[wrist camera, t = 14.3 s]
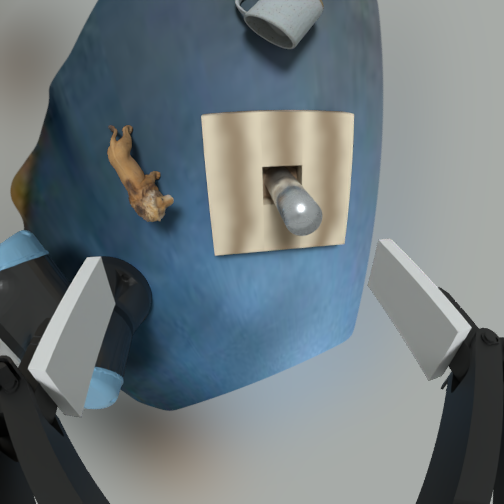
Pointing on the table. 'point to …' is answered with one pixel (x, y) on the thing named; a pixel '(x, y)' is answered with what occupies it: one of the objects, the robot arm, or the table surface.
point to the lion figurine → (137, 178)
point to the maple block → (270, 155)
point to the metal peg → (293, 202)
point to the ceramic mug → (282, 19)
